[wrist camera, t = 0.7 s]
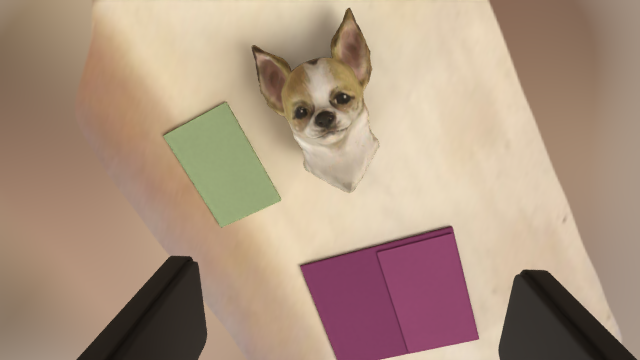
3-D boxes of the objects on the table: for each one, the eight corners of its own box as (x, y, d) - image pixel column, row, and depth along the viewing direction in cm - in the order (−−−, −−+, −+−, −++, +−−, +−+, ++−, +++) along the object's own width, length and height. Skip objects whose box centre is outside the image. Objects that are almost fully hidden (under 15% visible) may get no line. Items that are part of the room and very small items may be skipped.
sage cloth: (164, 135, 36) (163, 135, 36) (226, 101, 35) (225, 102, 34) (222, 226, 39) (221, 227, 39) (281, 199, 38) (281, 200, 37)
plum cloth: (300, 265, 40) (300, 267, 40) (451, 226, 37) (453, 228, 37) (340, 365, 45) (340, 369, 44) (478, 337, 42) (479, 340, 41)
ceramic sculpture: (290, 217, 28) (223, 38, 25) (303, 188, 37) (253, 52, 34) (414, 180, 27) (359, -16, 24) (398, 159, 35) (355, 12, 32)
